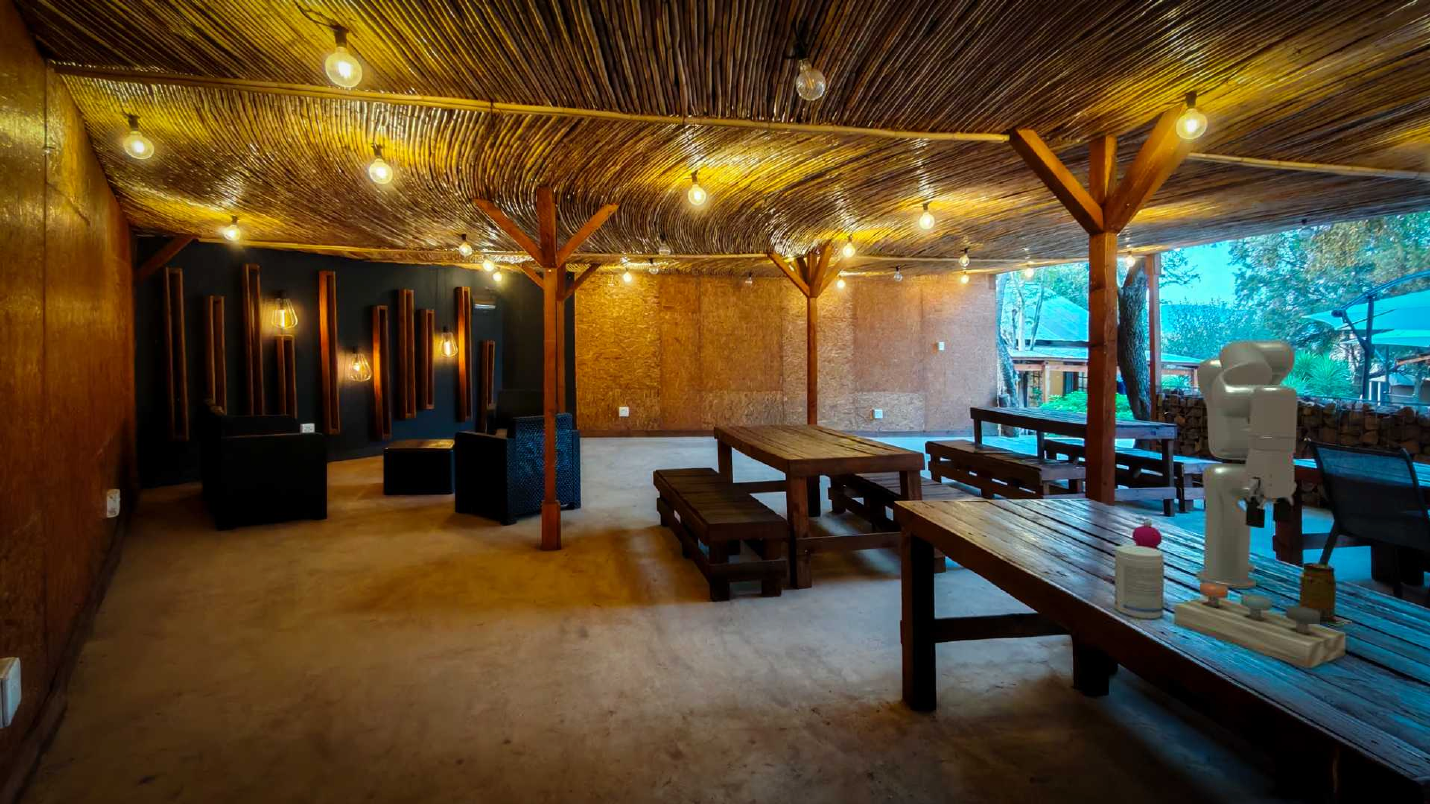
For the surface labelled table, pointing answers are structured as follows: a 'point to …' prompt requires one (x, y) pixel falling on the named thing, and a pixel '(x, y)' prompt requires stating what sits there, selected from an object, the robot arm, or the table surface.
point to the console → (1261, 632)
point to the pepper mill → (1147, 536)
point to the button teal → (1256, 604)
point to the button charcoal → (1302, 617)
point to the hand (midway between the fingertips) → (1268, 524)
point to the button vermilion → (1213, 593)
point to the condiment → (1320, 592)
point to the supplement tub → (1139, 581)
